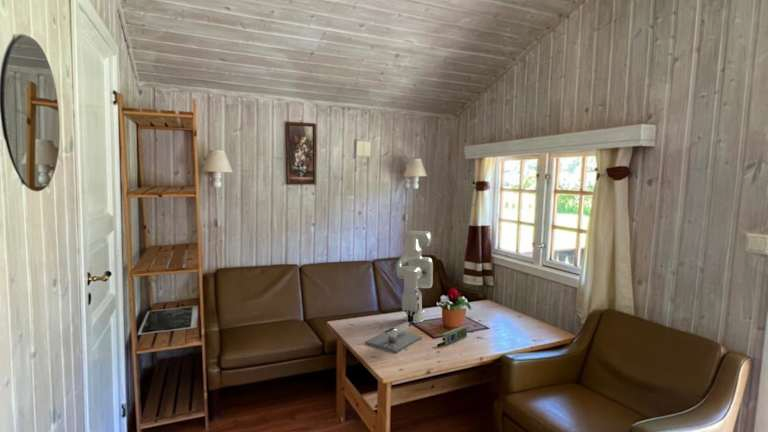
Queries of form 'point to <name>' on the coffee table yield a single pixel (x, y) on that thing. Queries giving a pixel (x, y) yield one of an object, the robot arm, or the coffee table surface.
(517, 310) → the coffee table surface
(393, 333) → the bar with ball ends
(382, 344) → the stand plate
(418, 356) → the coffee table surface
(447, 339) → the handheld radio
